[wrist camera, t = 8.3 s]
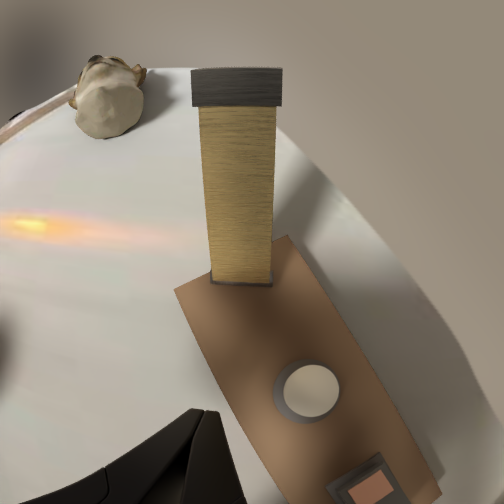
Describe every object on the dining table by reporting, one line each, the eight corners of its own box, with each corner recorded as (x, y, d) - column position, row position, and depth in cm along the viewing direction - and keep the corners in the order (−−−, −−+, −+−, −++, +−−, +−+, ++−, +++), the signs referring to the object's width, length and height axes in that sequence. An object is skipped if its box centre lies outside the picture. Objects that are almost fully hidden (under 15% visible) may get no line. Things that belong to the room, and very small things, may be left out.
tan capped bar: (272, 294, 17) (282, 68, 10) (210, 291, 17) (190, 70, 10) (272, 276, 18) (281, 67, 11) (214, 273, 18) (199, 68, 11)
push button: (298, 424, 13) (301, 426, 12) (274, 382, 14) (275, 381, 13) (341, 398, 14) (348, 398, 13) (317, 358, 15) (322, 355, 14)
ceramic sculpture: (39, 102, 18) (57, 60, 25) (75, 169, 25) (78, 109, 33) (151, 52, 20) (133, 27, 27) (171, 127, 27) (147, 80, 35)
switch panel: (330, 555, 10) (337, 569, 8) (179, 297, 19) (170, 285, 17) (431, 489, 12) (448, 496, 10) (285, 246, 21) (287, 229, 19)
